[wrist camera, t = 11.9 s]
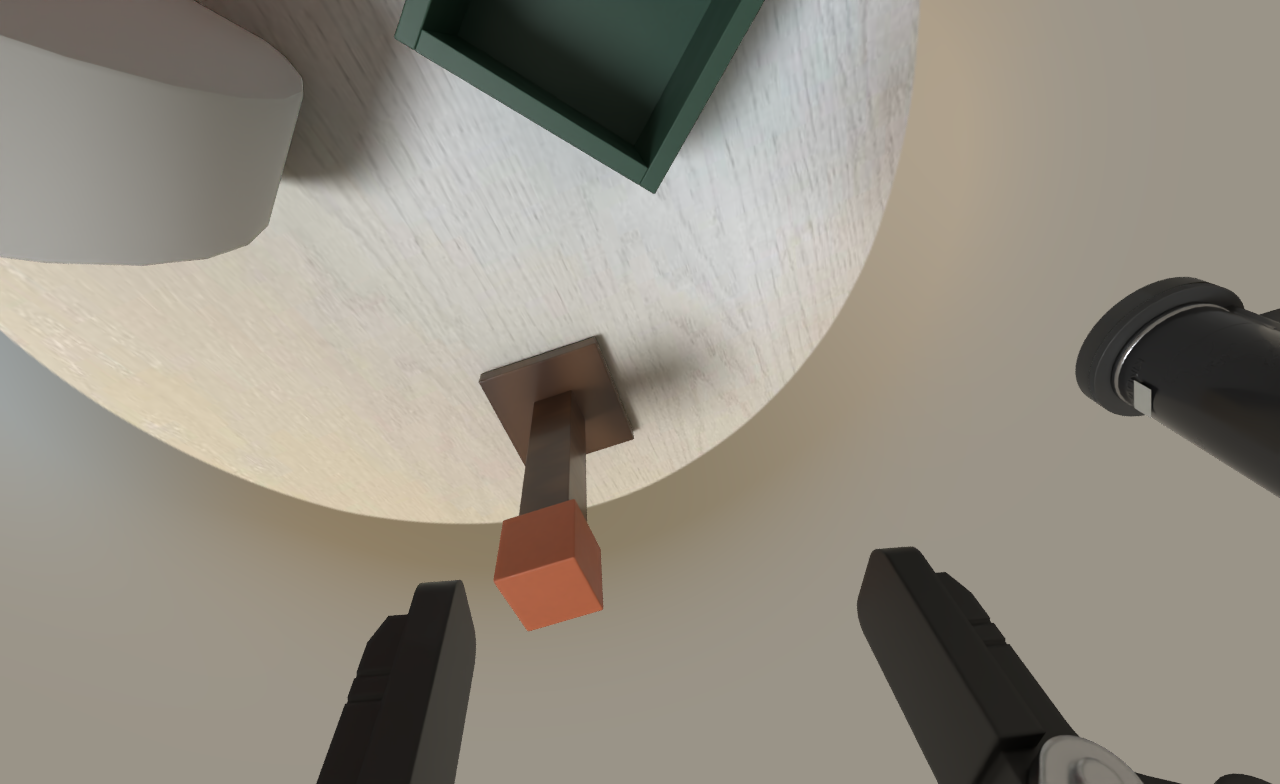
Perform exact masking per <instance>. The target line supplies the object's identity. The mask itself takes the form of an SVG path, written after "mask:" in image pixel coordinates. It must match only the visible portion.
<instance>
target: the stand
mask: <svg viewBox="0 0 1280 784" xmlns="http://www.w3.org/2000/svg"><path fill="white" fill-rule="evenodd" d="M479 383H480V385H481V387H482V389H483V391H484V392H485V394H486V396H487V398H488V400H489V401H490V403H491V405H492V407H493V409H494V411H495V412H496V414H497V416H498V418H499V420H500V421H501V423H502V425H503V427H504V429H505V430H506V432H507V434H508V436H509V438H510V440H511V441H512V443H513V445H514V447H515V449H516V450H517V452H518V454H519V456H520V458H521V460H522V461H523V463H524V465H525V474H524V481H523V489H522V497H521V504H520V512H519V516H520V515H523V514H526V513H530V512H533V511H536V510H539V509H543V508H546V507H549V506H552V505H556V504H559V503H562V502H565V501H569V500H572V499H575V500H576V502H577V504H578V506H579V508H580V510H581V512H582V514H583V516H584V518H585V520H586V522H587V499H586V454H588V453H591V452H595V451H598V450H601V449H604V448H607V447H611V446H614V445H617V444H620V443H623V442H626V441H630V440H633V439H634V435H633V430H632V427H631V425H630V422H629V420H628V417H627V415H626V412H625V410H624V407H623V405H622V402H621V400H620V397H619V395H618V392H617V390H616V387H615V385H614V382H613V380H612V377H611V375H610V372H609V370H608V367H607V365H606V362H605V360H604V357H603V355H602V352H601V350H600V347H599V345H598V342H597V340H596V337H592V338H589V339H586V340H583V341H580V342H577V343H574V344H571V345H568V346H565V347H562V348H559V349H556V350H553V351H550V352H547V353H544V354H541V355H538V356H535V357H532V358H529V359H526V360H523V361H520V362H517V363H514V364H511V365H508V366H505V367H502V368H499V369H496V370H493V371H490V372H487V373H484V374H481V376H480V380H479Z"/></svg>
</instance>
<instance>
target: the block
mask: <svg viewBox="0 0 1280 784" xmlns="http://www.w3.org/2000/svg"><path fill="white" fill-rule="evenodd" d="M494 583H495V584H496V586H497V587H498V589H499V590H500V592H501V593H502V595H503V596H504V598H505V599H506V600H507V602H508V603H509V605H510V606H511V608H512V609H513V611H514V612H515V614H516V615H517V616H518V618H519V619H520V621H521V622H522V624H523V625H524V627H525V628H526V629H527V631H532V630H535V629H538V628H542V627H546V626H549V625H552V624H556V623H559V622H562V621H566V620H570V619H573V618H576V617H580V616H583V615H586V614H590V613H593V612H597V611H600V610H603V593H602V571H601V550H600V547H599V545H598V543H597V542H596V540H595V537H594V536H593V534H592V531H591V530H590V528H589V526H588V524H587V522H586V520H585V518H584V516H583V514H582V512H581V510H580V508H579V506H578V504H577V502H576V500H575V499H572V500H569V501H565V502H562V503H559V504H556V505H552V506H549V507H546V508H543V509H539V510H536V511H533V512H530V513H526V514H523V515H520V516H517V517H514V518H510V519H507V520H504V521H503V525H502V531H501V537H500V544H499V550H498V556H497V562H496V568H495V574H494Z"/></svg>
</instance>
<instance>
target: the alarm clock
mask: <svg viewBox="0 0 1280 784" xmlns="http://www.w3.org/2000/svg"><path fill="white" fill-rule="evenodd" d="M302 99H303V80H302V77H301V76H300V74H299V73H298V72H297V71H296V69H295V68H294V67H293V66H292V65H291V63H290V62H289V61H288V60H287V58H286V57H285V56H283V55H282V54H281V53H280V52H279V51H277V50H276V49H275V48H274V47H272V46H271V45H270V44H269V43H268V42H266V41H265V40H263V39H261V38H259V37H258V36H256V35H254V34H252V33H250V32H249V31H247V30H245V29H243V28H242V27H240V26H238V25H236V24H234V23H233V22H231V21H229V20H227V19H225V18H224V17H222V16H220V15H218V14H216V13H215V12H213V11H211V10H209V9H208V8H206V7H204V6H202V5H200V4H199V3H197V2H195V1H193V0H0V257H3V258H11V259H19V260H27V261H35V262H43V263H63V264H99V265H135V266H144V265H153V264H163V263H172V262H181V261H191V260H200V259H208V258H211V257H214V256H217V255H220V254H223V253H226V252H229V251H231V250H234V249H237V248H240V247H243V246H246V245H248V244H250V243H251V242H252V241H253V240H254V239H255V238H256V237H257V236H258V235H259V234H260V233H261V232H262V231H263V230H264V229H265V228H266V227H267V226H268V224H269V221H270V217H271V213H272V209H273V206H274V202H275V198H276V195H277V191H278V187H279V184H280V180H281V176H282V173H283V169H284V165H285V162H286V158H287V154H288V151H289V147H290V143H291V140H292V136H293V132H294V129H295V125H296V121H297V117H298V114H299V110H300V106H301V103H302Z"/></svg>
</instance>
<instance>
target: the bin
mask: <svg viewBox="0 0 1280 784" xmlns="http://www.w3.org/2000/svg"><path fill="white" fill-rule="evenodd" d="M764 1H765V0H406V1H405V4H404V7H403V10H402V14H401V17H400V20H399V23H398V26H397V29H396V32H395V35H394V38H395V39H396V40H398V41H400V42H401V43H403V44H405V45H406V46H408V47H410V48H411V49H413V50H415V51H416V52H418V53H419V54H421V55H423V56H424V57H426V58H428V59H429V60H431V61H433V62H434V63H436V64H438V65H439V66H441V67H443V68H444V69H446V70H448V71H449V72H451V73H453V74H454V75H456V76H458V77H459V78H461V79H463V80H464V81H466V82H468V83H469V84H471V85H473V86H474V87H476V88H478V89H479V90H481V91H483V92H484V93H486V94H488V95H489V96H491V97H493V98H494V99H496V100H498V101H499V102H501V103H503V104H504V105H506V106H508V107H509V108H511V109H513V110H514V111H516V112H518V113H519V114H521V115H523V116H524V117H526V118H528V119H529V120H531V121H533V122H534V123H536V124H538V125H540V126H541V127H543V128H545V129H546V130H548V131H550V132H551V133H553V134H555V135H556V136H558V137H560V138H561V139H563V140H565V141H566V142H568V143H570V144H571V145H573V146H575V147H576V148H578V149H580V150H581V151H583V152H585V153H586V154H588V155H590V156H591V157H593V158H595V159H596V160H598V161H600V162H601V163H603V164H605V165H606V166H608V167H610V168H611V169H613V170H615V171H616V172H618V173H620V174H621V175H623V176H625V177H626V178H628V179H630V180H631V181H633V182H635V183H636V184H638V185H640V186H641V187H643V188H645V189H646V190H648V191H650V192H651V193H653V194H655V193H656V191H657V189H658V187H659V186H660V184H661V182H662V180H663V179H664V177H665V175H666V173H667V172H668V170H669V168H670V166H671V165H672V163H673V161H674V159H675V157H676V156H677V154H678V152H679V150H680V149H681V147H682V145H683V143H684V142H685V140H686V138H687V136H688V135H689V133H690V131H691V129H692V128H693V126H694V124H695V122H696V120H697V119H698V117H699V115H700V113H701V112H702V110H703V108H704V106H705V105H706V103H707V101H708V99H709V98H710V96H711V94H712V92H713V91H714V89H715V87H716V85H717V83H718V82H719V80H720V78H721V76H722V75H723V73H724V71H725V69H726V68H727V66H728V64H729V62H730V61H731V59H732V57H733V55H734V53H735V52H736V50H737V48H738V46H739V45H740V43H741V41H742V39H743V38H744V36H745V34H746V32H747V31H748V29H749V27H750V25H751V24H752V22H753V20H754V18H755V16H756V15H757V13H758V11H759V9H760V8H761V6H762V4H763V2H764Z"/></svg>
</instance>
